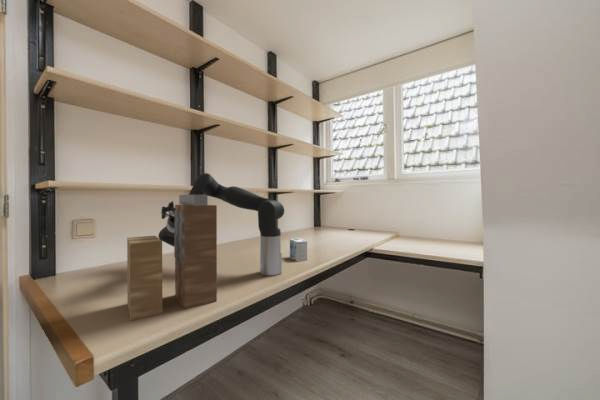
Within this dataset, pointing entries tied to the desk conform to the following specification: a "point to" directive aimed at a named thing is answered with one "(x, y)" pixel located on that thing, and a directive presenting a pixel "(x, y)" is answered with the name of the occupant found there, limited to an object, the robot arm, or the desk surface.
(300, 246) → the light bulb box
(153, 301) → the oak step
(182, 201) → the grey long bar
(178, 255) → the tall brown wooden block
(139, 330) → the desk surface
